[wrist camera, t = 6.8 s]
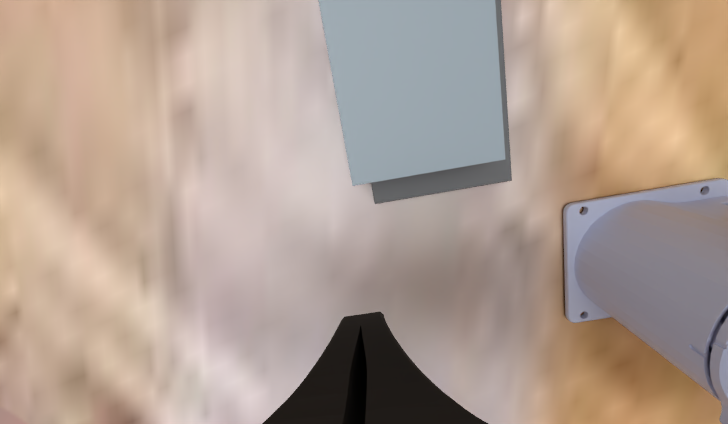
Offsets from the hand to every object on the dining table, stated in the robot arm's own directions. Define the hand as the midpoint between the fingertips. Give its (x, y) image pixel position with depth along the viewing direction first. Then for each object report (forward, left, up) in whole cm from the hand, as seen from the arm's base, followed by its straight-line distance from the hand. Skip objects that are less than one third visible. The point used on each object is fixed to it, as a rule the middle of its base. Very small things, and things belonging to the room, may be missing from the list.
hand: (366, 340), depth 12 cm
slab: (0, -9, -7) cm, 12 cm away
